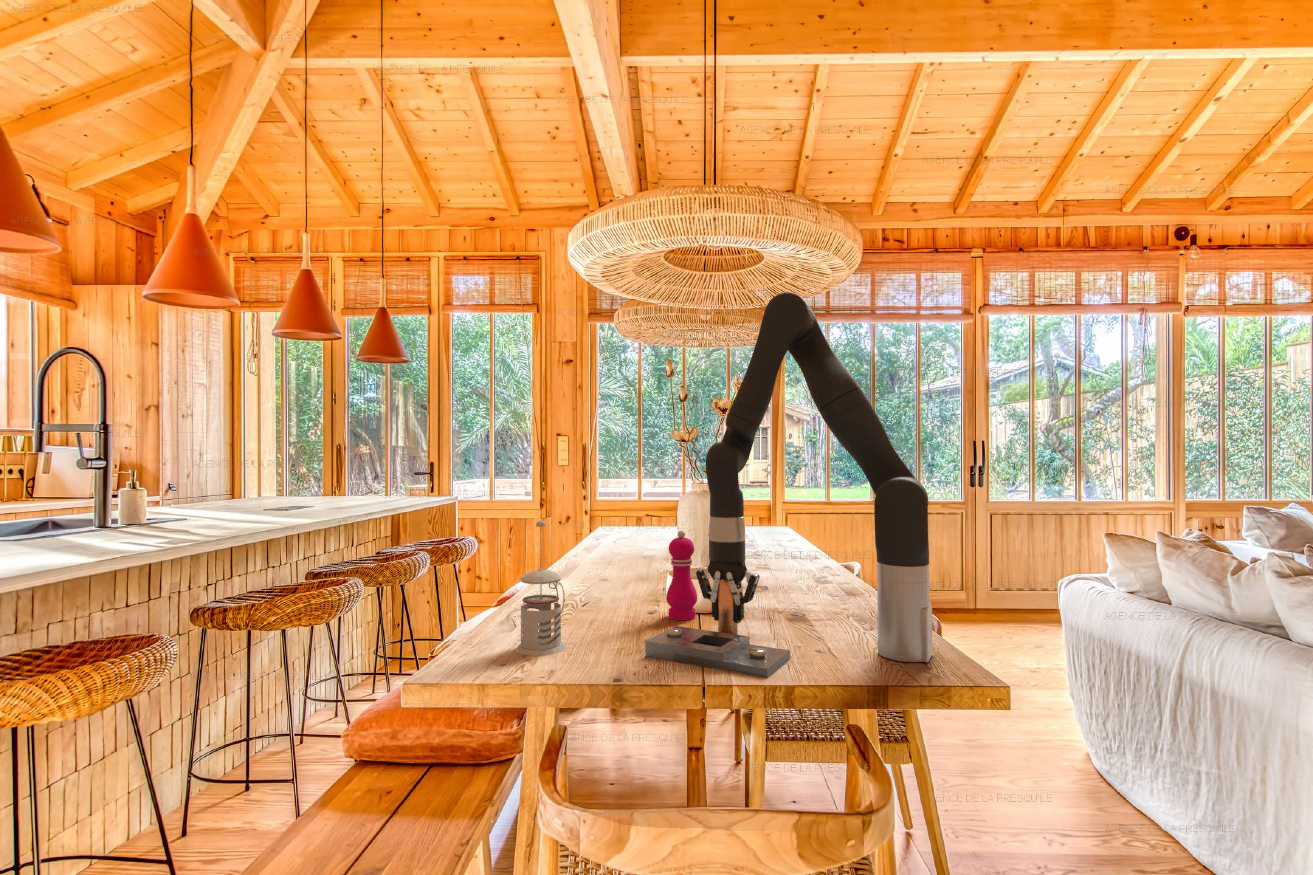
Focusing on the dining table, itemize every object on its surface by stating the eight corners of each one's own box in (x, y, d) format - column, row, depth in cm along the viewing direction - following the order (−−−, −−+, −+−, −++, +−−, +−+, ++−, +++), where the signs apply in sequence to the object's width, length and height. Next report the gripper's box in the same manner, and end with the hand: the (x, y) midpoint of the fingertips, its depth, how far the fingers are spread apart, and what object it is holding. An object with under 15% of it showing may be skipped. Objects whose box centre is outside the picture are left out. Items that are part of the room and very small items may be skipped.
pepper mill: (700, 614, 156) (699, 529, 157) (693, 621, 149) (693, 532, 150) (670, 612, 158) (670, 528, 159) (662, 619, 151) (662, 532, 152)
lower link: (790, 658, 122) (790, 644, 122) (767, 677, 112) (767, 662, 112) (702, 644, 131) (702, 632, 131) (673, 661, 121) (673, 647, 121)
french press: (504, 651, 128) (504, 521, 128) (542, 636, 138) (541, 516, 139) (545, 658, 123) (545, 524, 124) (581, 642, 133) (580, 518, 134)
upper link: (749, 652, 126) (749, 631, 126) (723, 670, 116) (723, 647, 116) (675, 640, 134) (675, 620, 134) (645, 656, 124) (645, 635, 124)
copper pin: (740, 635, 138) (740, 577, 138) (733, 640, 134) (732, 580, 135) (723, 632, 140) (722, 575, 140) (715, 637, 136) (714, 579, 137)
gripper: (765, 538, 137) (766, 621, 137) (704, 534, 144) (704, 613, 144) (752, 542, 131) (753, 629, 130) (688, 538, 138) (688, 620, 137)
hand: (727, 620), depth 137 cm, fingers closed on copper pin, 4 cm apart
